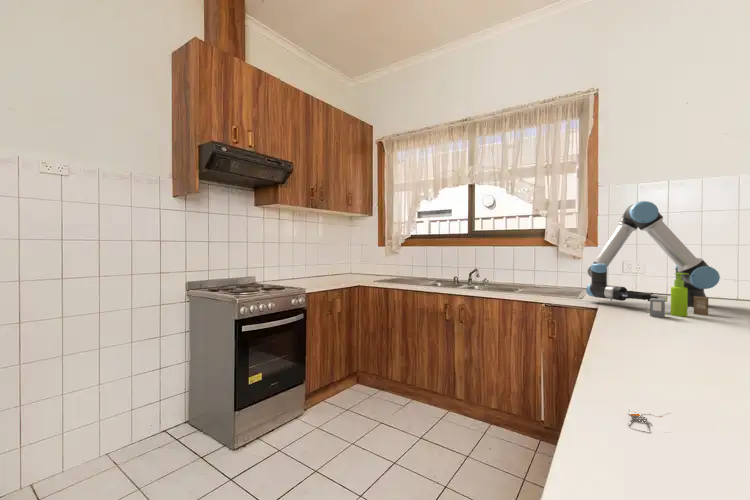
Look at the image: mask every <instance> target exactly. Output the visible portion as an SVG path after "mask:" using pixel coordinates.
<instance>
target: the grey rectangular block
mask: <svg viewBox="0 0 750 500" xmlns="http://www.w3.org/2000/svg"><path fill="white" fill-rule="evenodd" d="M665 308H666V304H665V299H657V298H651V299H650V301H649V317H650V316H652V317H651V318H660V317H663V319H664V318H665V315H666V313H665V312H666V311H665Z"/></svg>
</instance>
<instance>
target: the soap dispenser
mask: <svg viewBox="0 0 750 500" xmlns="http://www.w3.org/2000/svg"><path fill="white" fill-rule="evenodd" d="M676 274H677V279H676V278H675V279H674V280H673V281H674V282H673V283H674V284H673V286H670V315H671V316H674V317H688V306H687V291H688V288H686V287H684V280H682V274H685V275H689V274H688V273H676V272H674V275H676Z"/></svg>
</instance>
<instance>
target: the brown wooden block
mask: <svg viewBox="0 0 750 500" xmlns="http://www.w3.org/2000/svg"><path fill="white" fill-rule="evenodd" d="M693 314H694V315H699V316H709V297H708V296H706V297H697V296H694V306H693Z"/></svg>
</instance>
